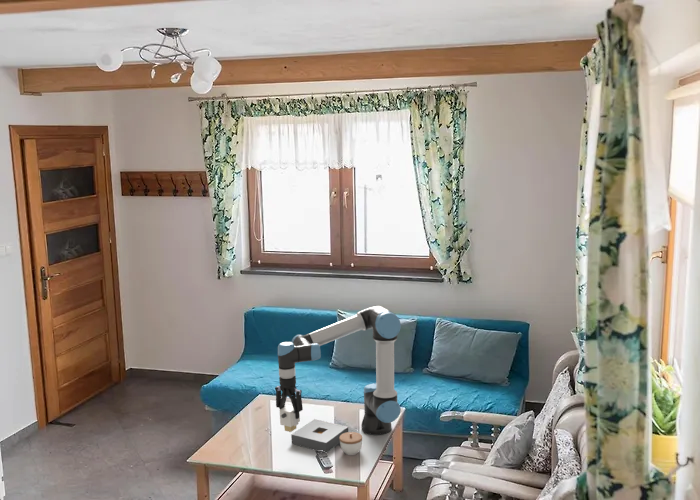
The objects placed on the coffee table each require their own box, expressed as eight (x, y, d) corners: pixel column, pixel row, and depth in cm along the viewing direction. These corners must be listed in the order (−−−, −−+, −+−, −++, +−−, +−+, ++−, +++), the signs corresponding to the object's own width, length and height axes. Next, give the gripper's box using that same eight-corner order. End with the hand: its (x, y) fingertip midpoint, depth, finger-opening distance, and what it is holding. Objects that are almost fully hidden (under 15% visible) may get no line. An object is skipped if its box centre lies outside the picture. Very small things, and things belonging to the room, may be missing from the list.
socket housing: (348, 436, 343) (348, 426, 342) (326, 452, 326) (326, 442, 325) (314, 428, 353) (314, 419, 352) (291, 444, 336) (291, 434, 335)
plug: (300, 427, 323) (299, 406, 321) (289, 435, 316) (288, 413, 314) (289, 425, 326) (288, 404, 324) (278, 432, 319) (277, 411, 317)
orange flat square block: (327, 434, 340) (327, 433, 340) (321, 438, 335) (321, 437, 335) (319, 432, 342) (319, 431, 342) (313, 436, 338) (313, 435, 338)
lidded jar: (355, 459, 318) (354, 440, 317) (335, 454, 324) (334, 435, 322) (366, 450, 327) (366, 431, 326) (347, 445, 333) (347, 426, 331)
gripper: (309, 376, 315) (311, 424, 320) (275, 370, 325) (278, 416, 329) (299, 381, 309) (302, 430, 313) (265, 375, 319) (268, 422, 323)
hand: (290, 423), depth 321 cm, fingers closed on plug, 6 cm apart
